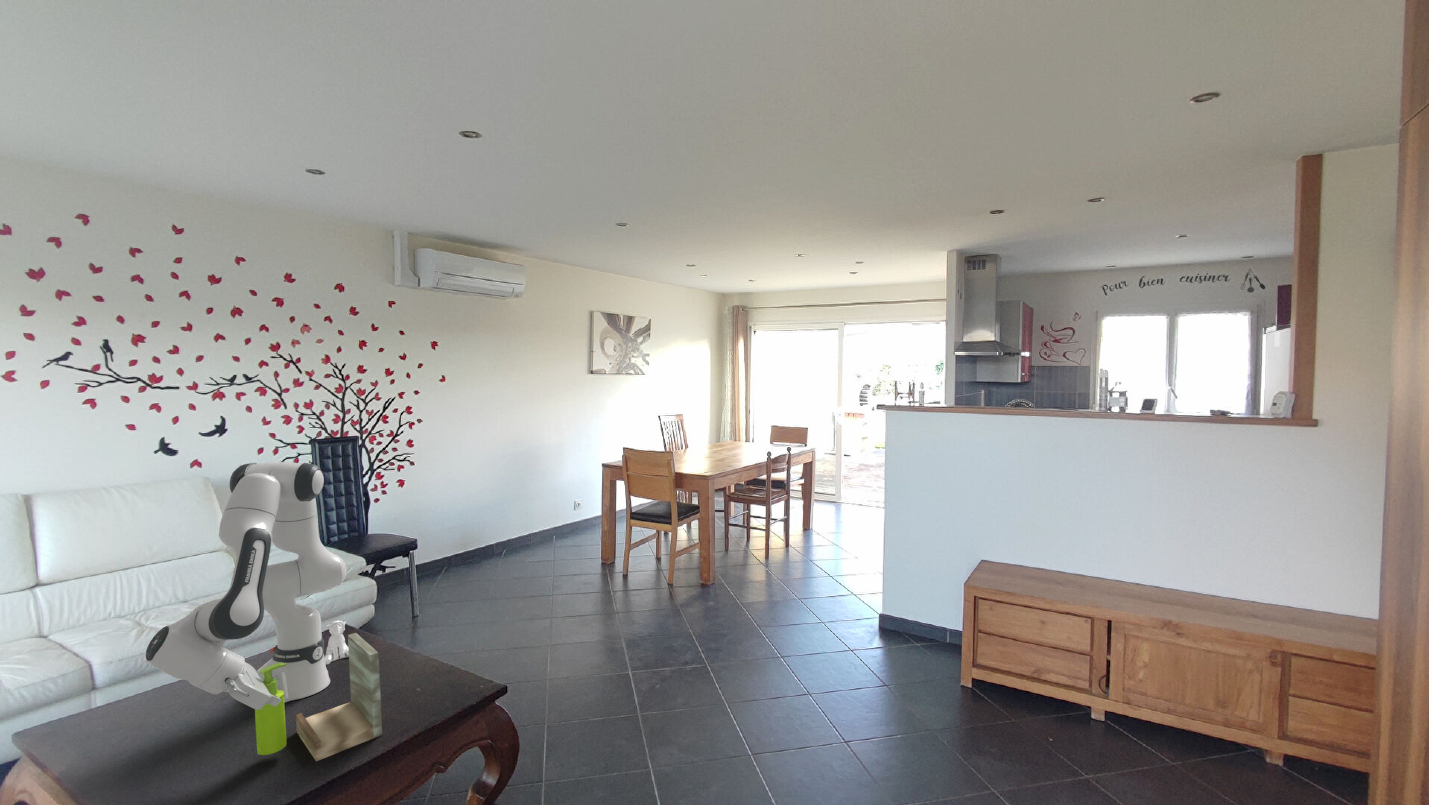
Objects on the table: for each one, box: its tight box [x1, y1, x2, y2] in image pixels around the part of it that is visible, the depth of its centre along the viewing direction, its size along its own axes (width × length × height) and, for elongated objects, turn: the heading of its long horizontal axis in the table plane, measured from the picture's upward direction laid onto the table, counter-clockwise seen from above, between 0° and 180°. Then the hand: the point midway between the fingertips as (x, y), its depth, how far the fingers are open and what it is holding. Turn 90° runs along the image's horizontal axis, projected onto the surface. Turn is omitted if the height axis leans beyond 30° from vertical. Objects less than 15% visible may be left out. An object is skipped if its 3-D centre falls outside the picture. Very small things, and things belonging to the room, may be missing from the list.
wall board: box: [295, 632, 383, 762], centre depth 163 cm, size 15×18×22 cm
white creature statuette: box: [324, 620, 349, 666], centre depth 207 cm, size 10×9×12 cm
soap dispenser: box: [254, 663, 288, 756], centre depth 153 cm, size 6×7×20 cm
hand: (274, 696), depth 153 cm, fingers closed on soap dispenser, 6 cm apart
